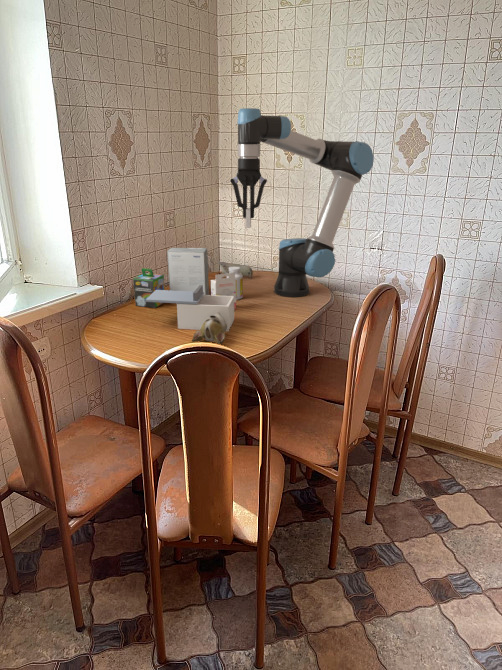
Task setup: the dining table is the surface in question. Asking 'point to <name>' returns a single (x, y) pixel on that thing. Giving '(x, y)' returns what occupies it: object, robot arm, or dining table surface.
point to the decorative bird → (243, 268)
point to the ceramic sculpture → (212, 330)
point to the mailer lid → (177, 296)
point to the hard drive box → (188, 269)
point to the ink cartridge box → (224, 286)
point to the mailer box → (205, 311)
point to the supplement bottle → (237, 281)
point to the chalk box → (147, 287)
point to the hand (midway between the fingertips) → (248, 227)
